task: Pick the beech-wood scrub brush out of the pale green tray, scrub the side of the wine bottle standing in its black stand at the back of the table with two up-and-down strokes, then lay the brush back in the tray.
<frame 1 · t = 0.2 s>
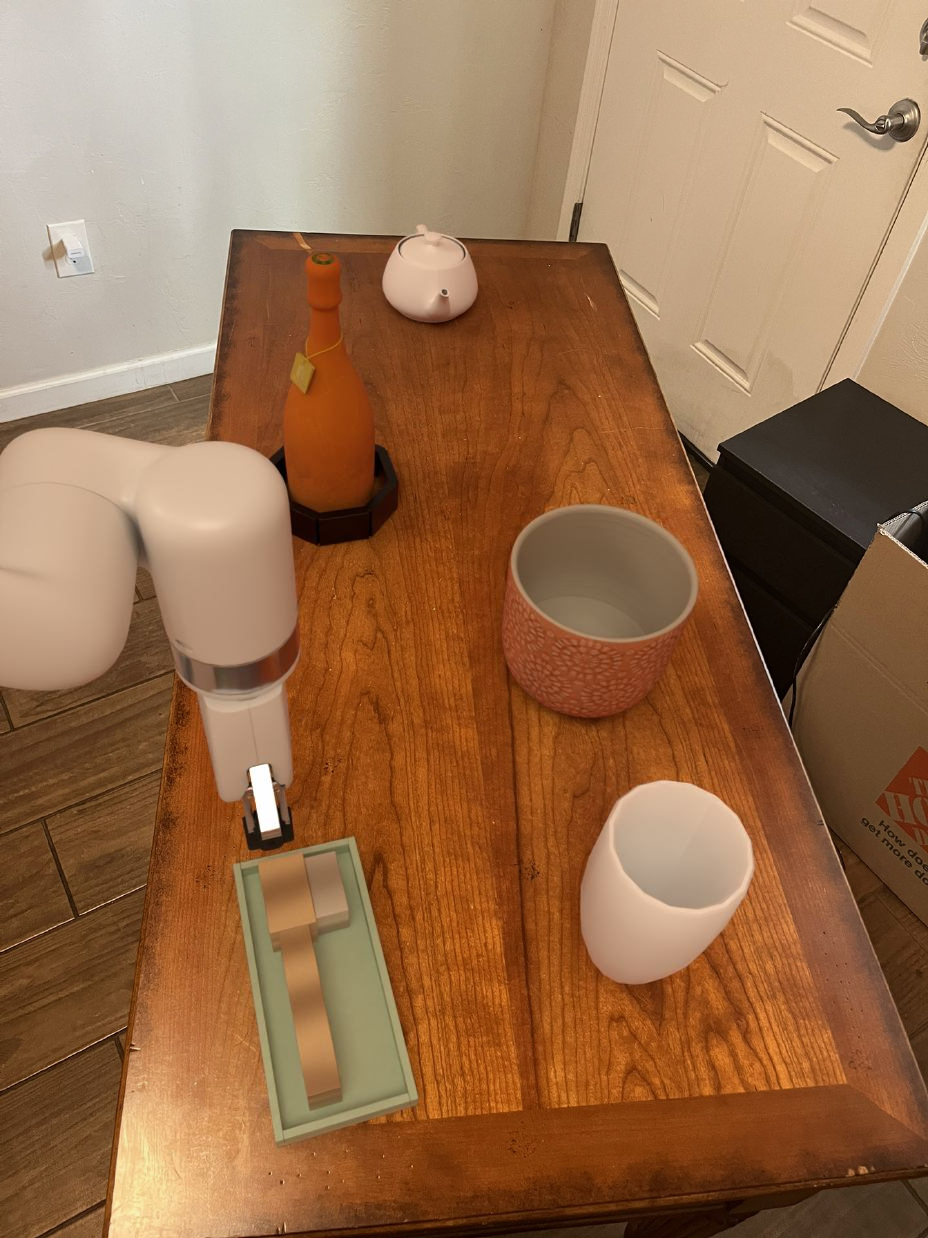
hand: (259, 783, 68), 14 cm above the table, tool pointing down, fingers open, 9 cm apart
teapot: (429, 309, 137), on the table
wine bottle: (331, 500, 109), resting in bottle stand
tray: (319, 981, 74), on the table
cup: (612, 967, 76), on the table
planter: (575, 671, 96), on the table
bottle stand: (331, 499, 109), on the table
brush: (298, 959, 74), resting on tray
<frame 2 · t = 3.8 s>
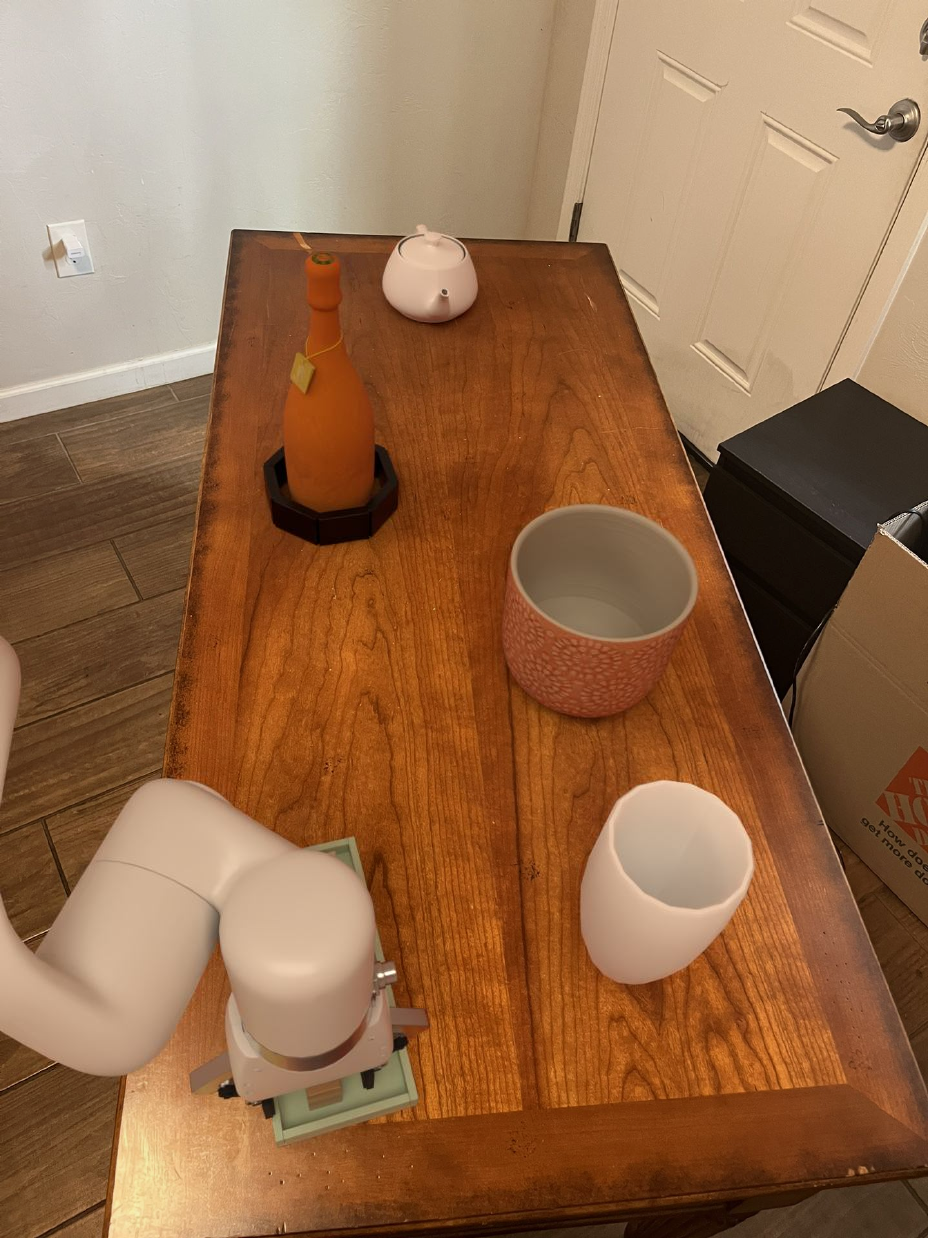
hand: (316, 1080, 67), 2 cm above the table, tool pointing down, fingers open, 6 cm apart
nothing on the table moved.
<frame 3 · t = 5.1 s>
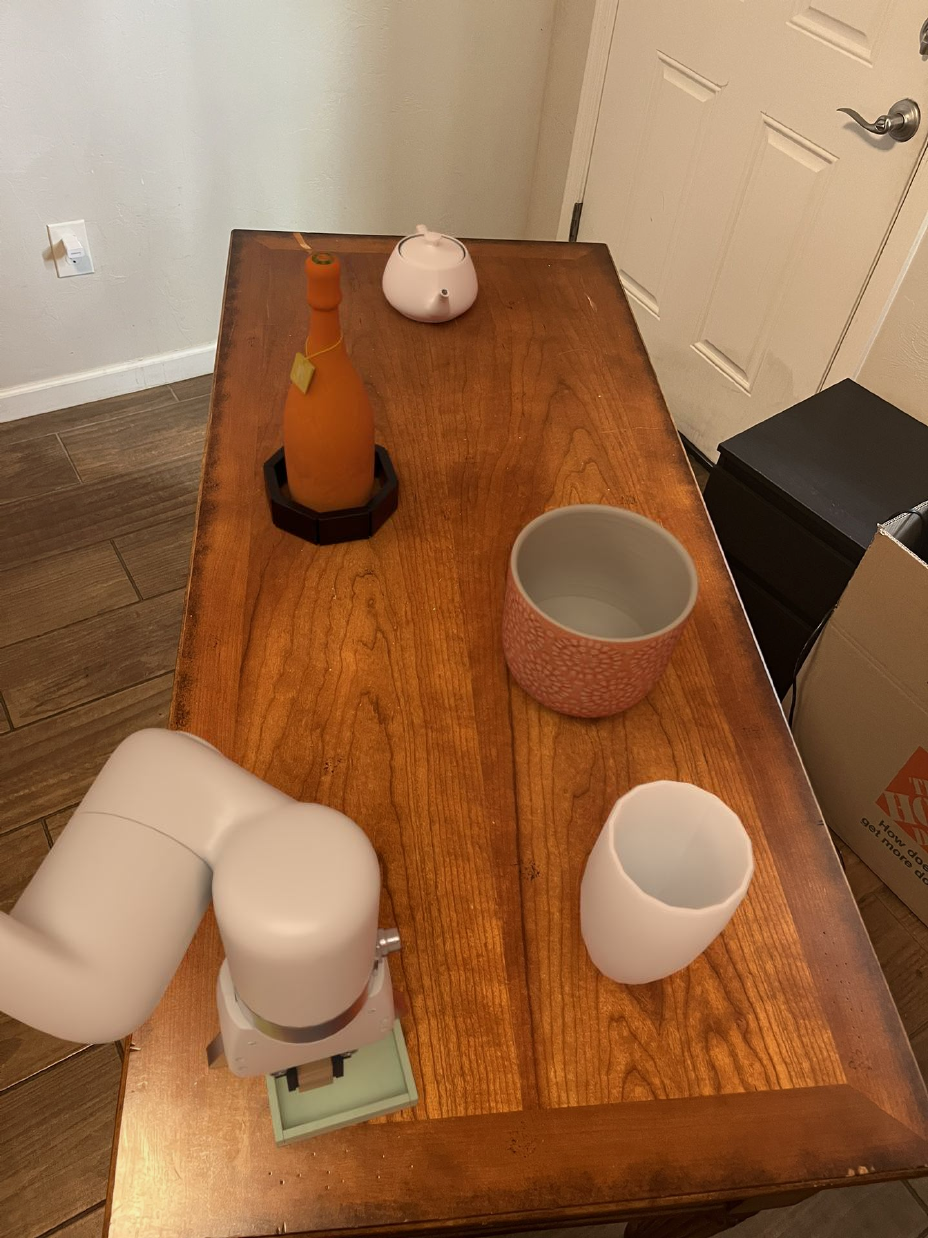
hand: (311, 1060, 64), 6 cm above the table, tool pointing down, fingers closed on brush, 2 cm apart
brush: (288, 937, 71), point 4 cm above the table, touching gripper
everything else where it was.
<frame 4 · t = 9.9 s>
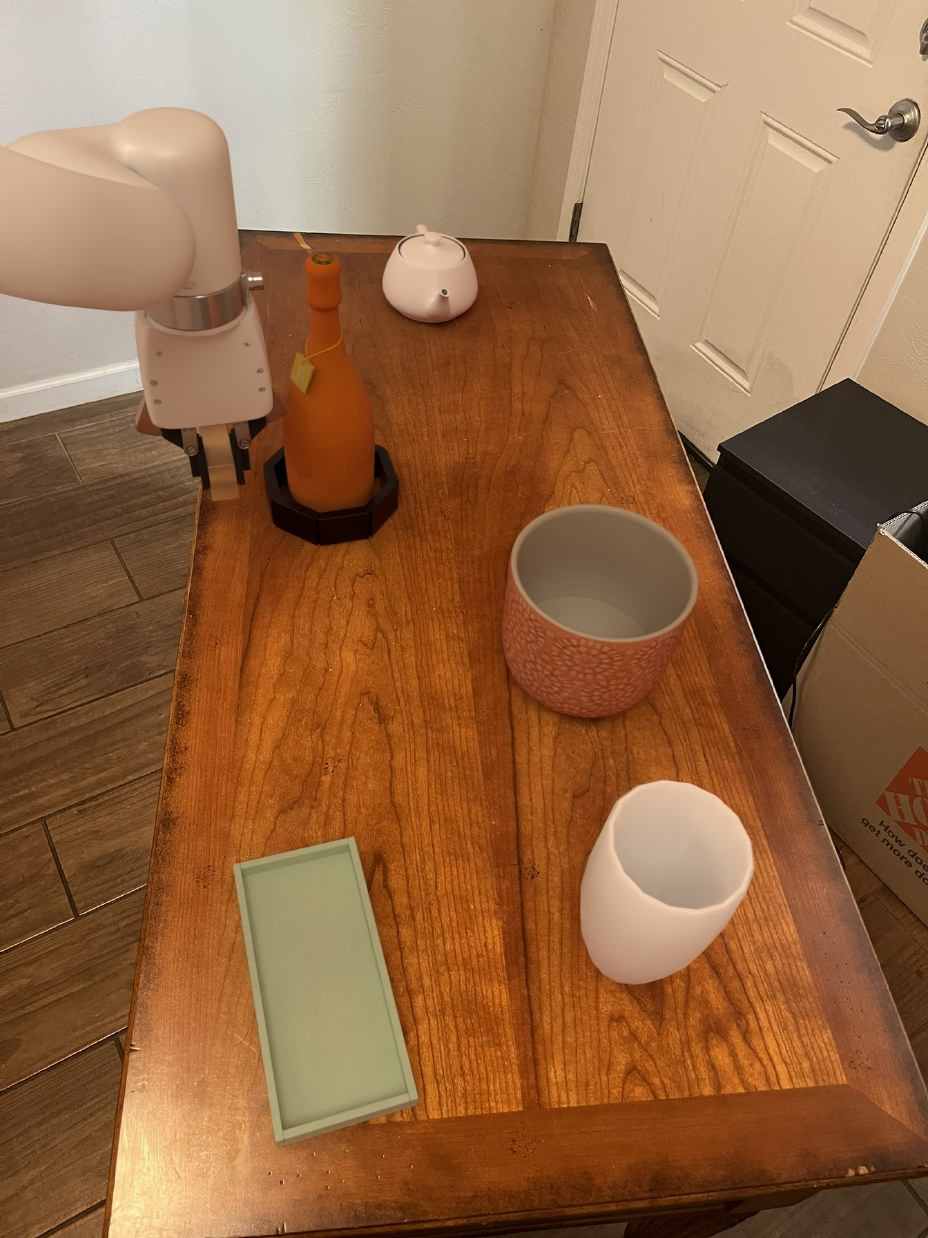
hand: (222, 475, 85), 17 cm above the table, tool pointing down, fingers closed on brush, 2 cm apart
brush: (210, 425, 92), point 16 cm above the table, touching gripper
everything else where it was.
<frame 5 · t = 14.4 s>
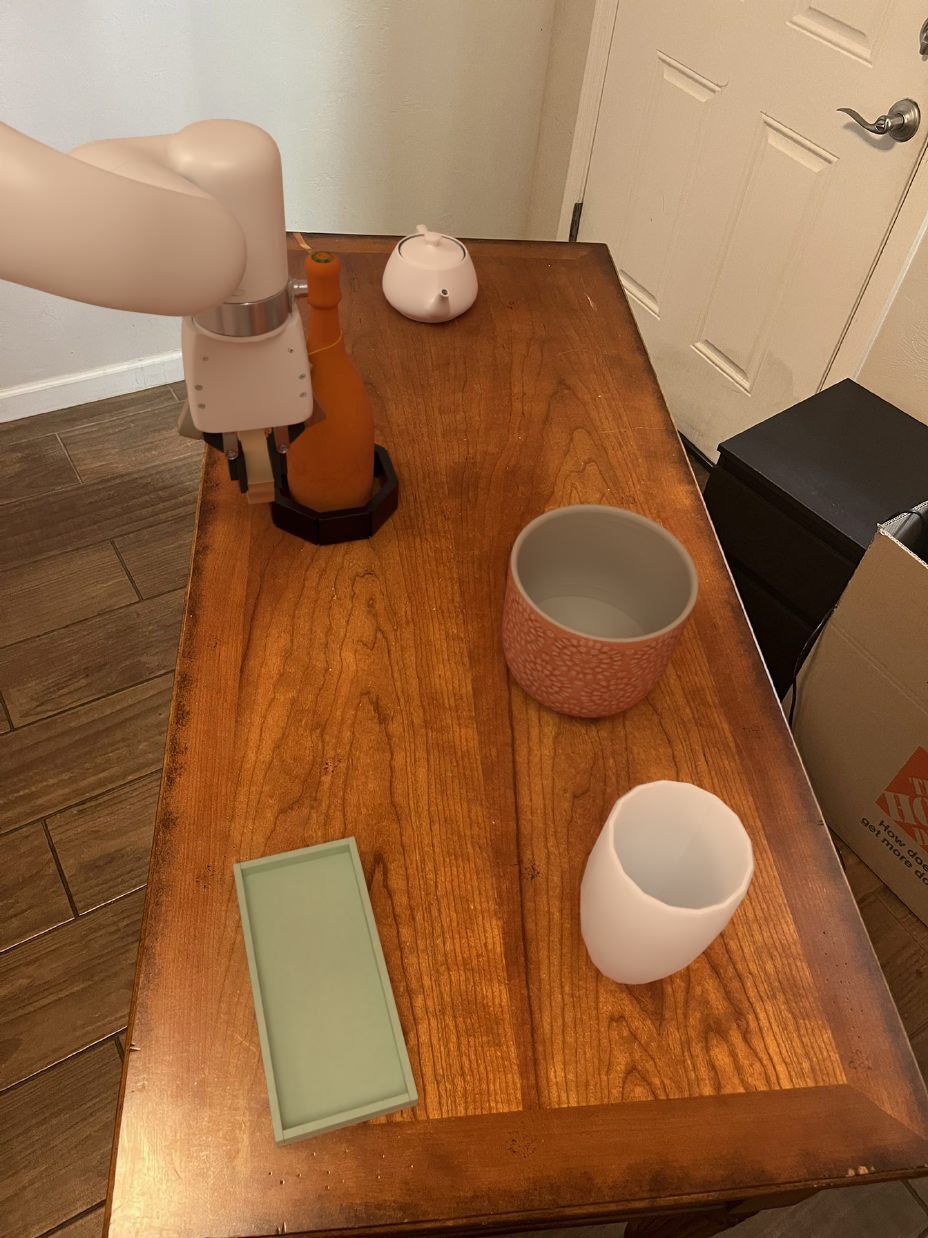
hand: (259, 479, 86), 16 cm above the table, tool pointing down, fingers closed on brush, 2 cm apart
brush: (242, 402, 91), point 18 cm above the table, tilted 21°, touching gripper
everything else where it was.
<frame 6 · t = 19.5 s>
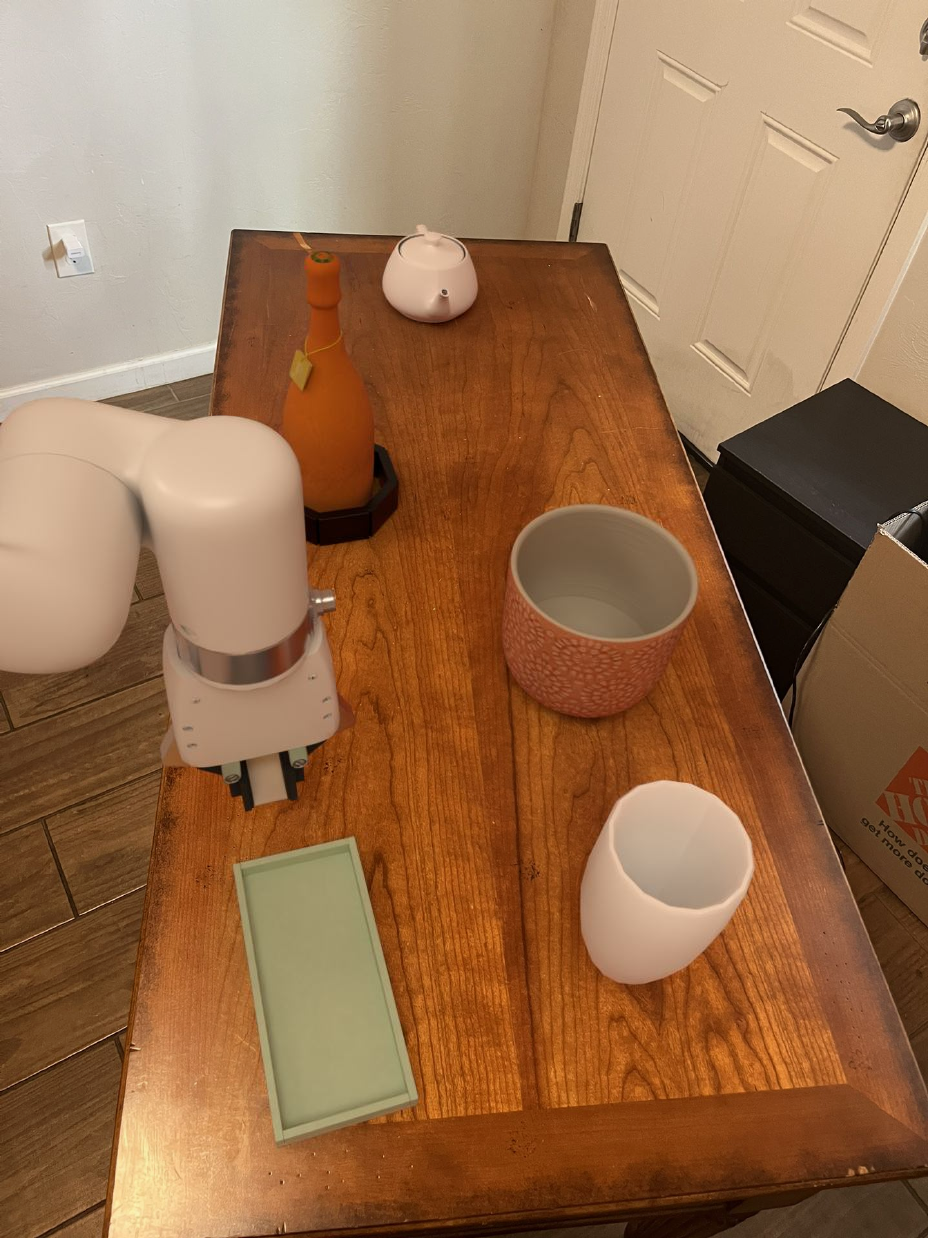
hand: (267, 787, 67), 16 cm above the table, tool pointing down, fingers closed on brush, 2 cm apart
brush: (240, 658, 71), point 18 cm above the table, tilted 29°, touching gripper
everything else where it was.
when the fingers open (3 cm above the table, at t = 24.1 s): brush drops 4 cm, resting on tray.
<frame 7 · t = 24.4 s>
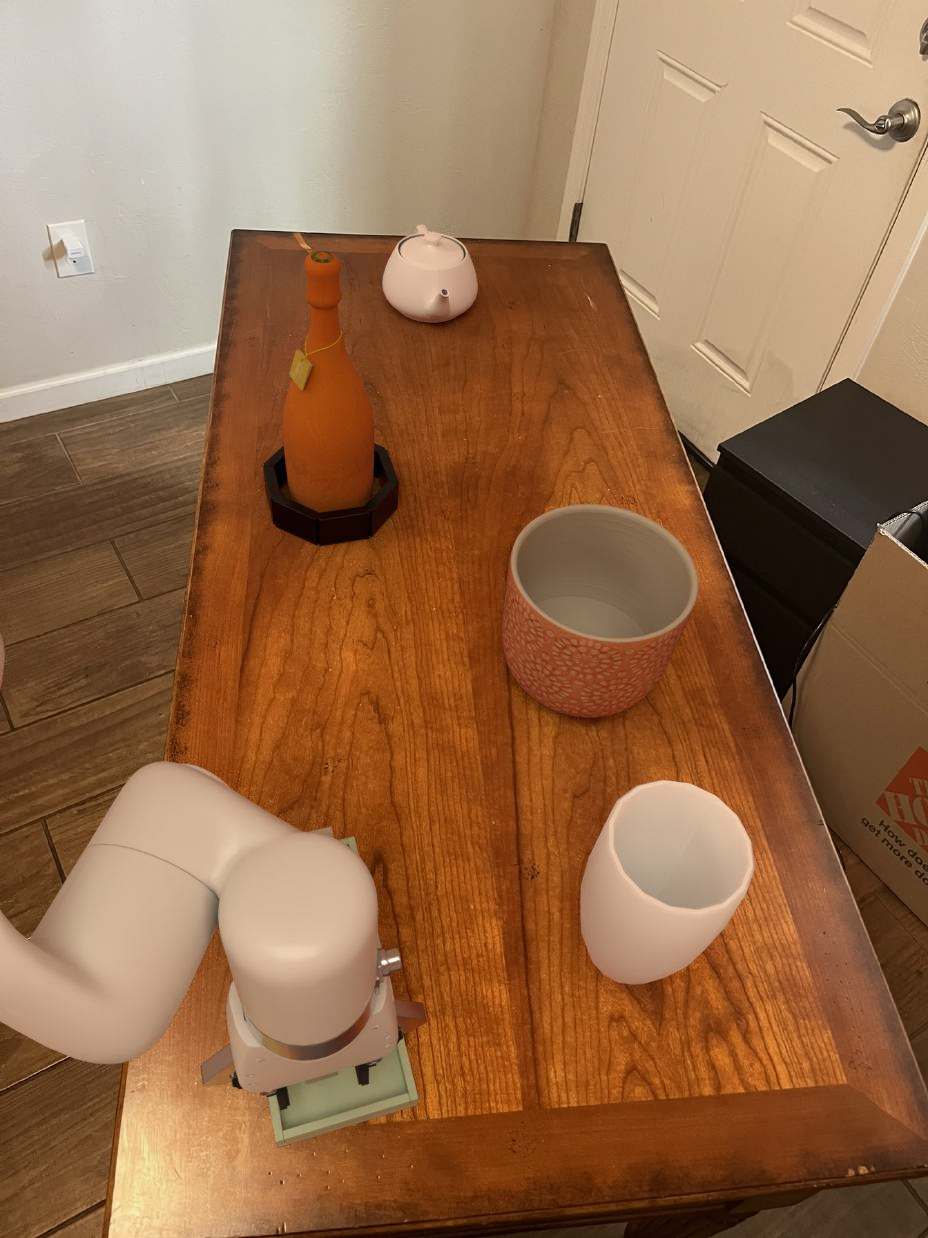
hand: (320, 1074, 66), 3 cm above the table, tool pointing down, fingers open, 4 cm apart
brush: (294, 933, 75), point 1 cm above the table, touching tray
everything else where it was.
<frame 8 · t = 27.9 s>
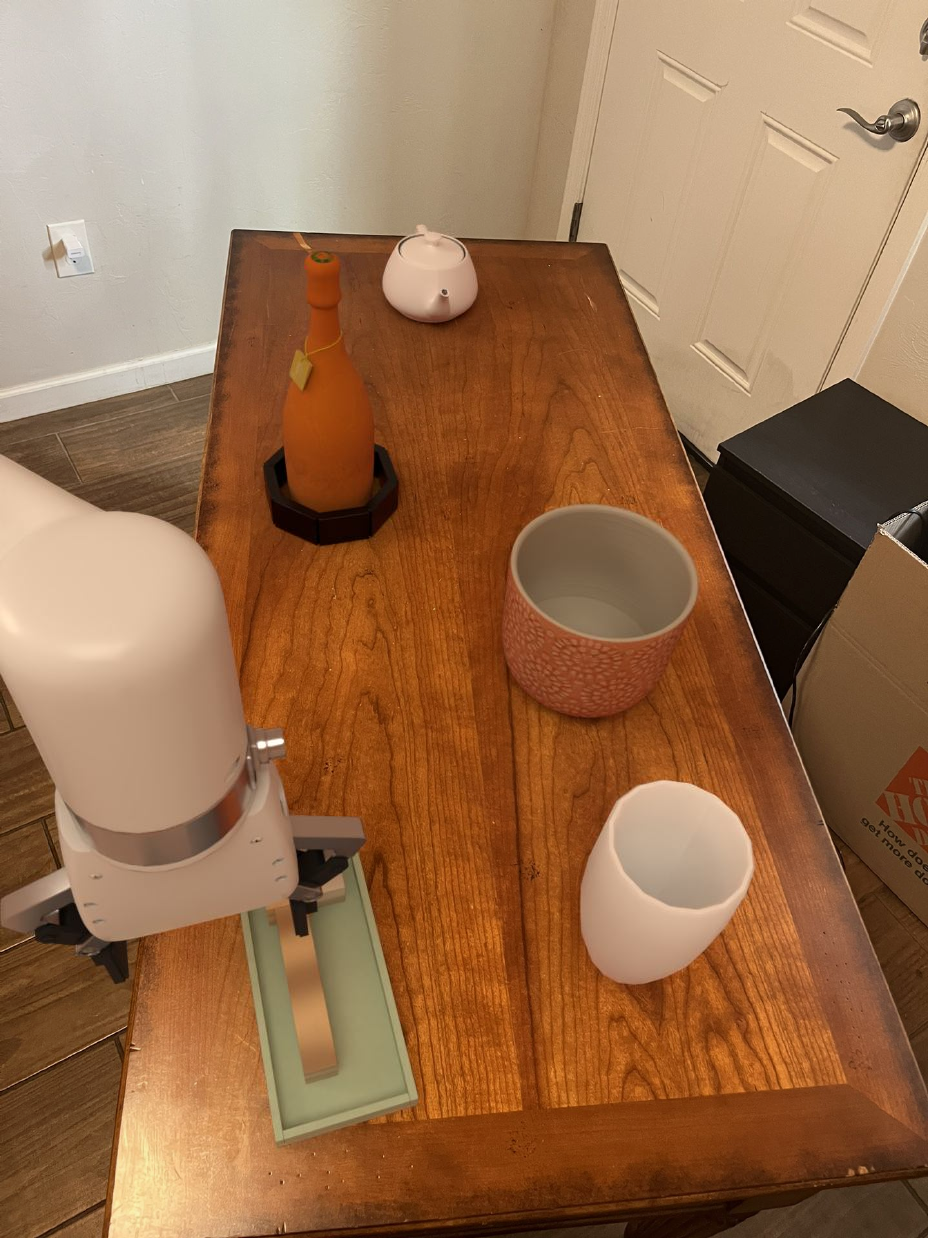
hand: (211, 933, 52), 23 cm above the table, tool pointing down, fingers open, 9 cm apart
nothing on the table moved.
at the end: brush inside the target area in the tray (4.0 cm from its centre), point 1.4 cm above the tray's base; wine bottle tilted 0°; wine bottle moved 0.4 cm from its start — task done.
